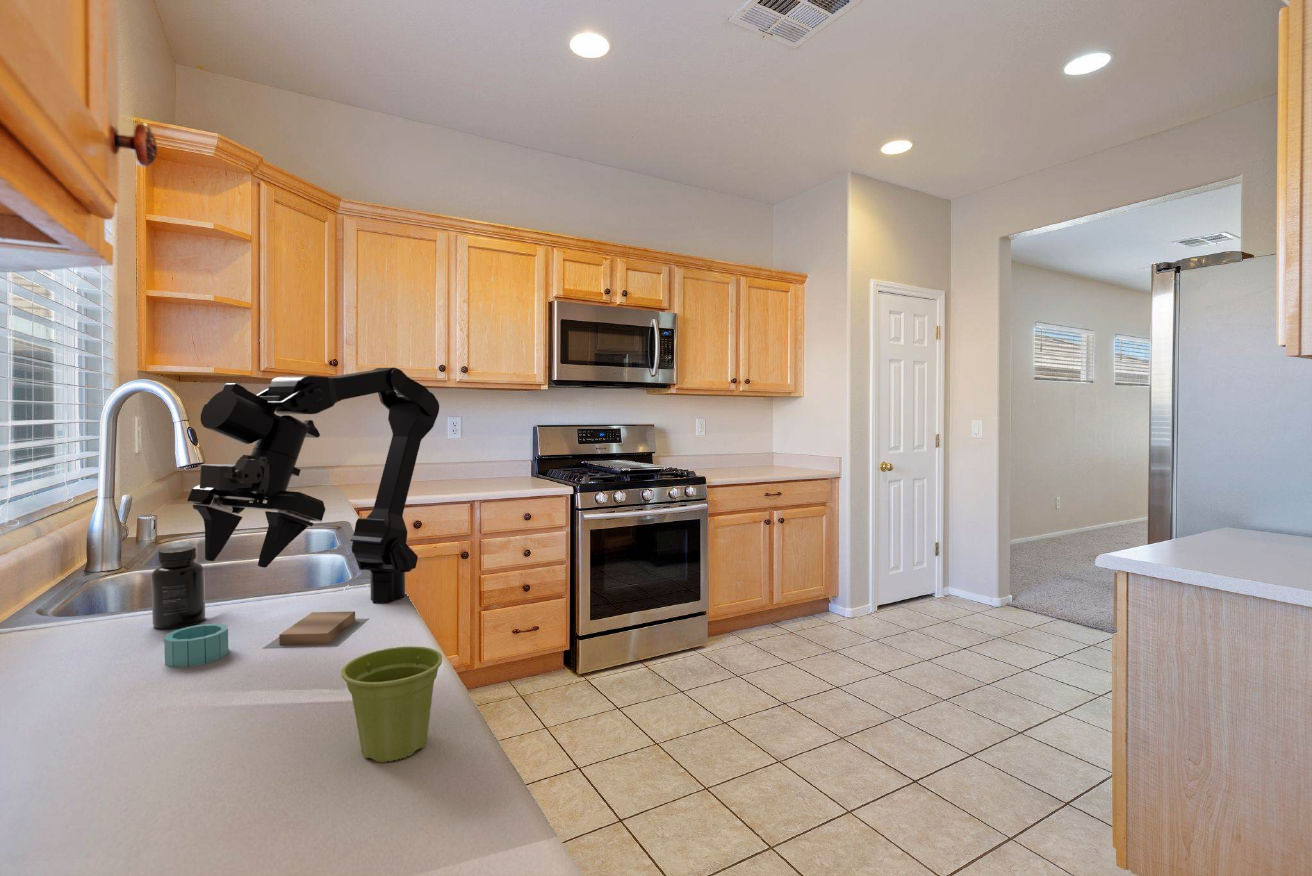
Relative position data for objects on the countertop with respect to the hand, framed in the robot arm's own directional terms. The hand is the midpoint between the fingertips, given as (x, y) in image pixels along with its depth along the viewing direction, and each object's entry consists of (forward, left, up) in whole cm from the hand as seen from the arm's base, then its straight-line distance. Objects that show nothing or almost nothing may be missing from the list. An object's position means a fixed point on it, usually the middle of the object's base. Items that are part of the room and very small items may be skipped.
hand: (235, 563), depth 85 cm
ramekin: (+1, -4, -13) cm, 14 cm away
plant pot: (+25, +29, -14) cm, 40 cm away
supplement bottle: (-17, -18, -14) cm, 29 cm away
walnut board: (-7, +8, -12) cm, 16 cm away
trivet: (-7, +8, -13) cm, 17 cm away
